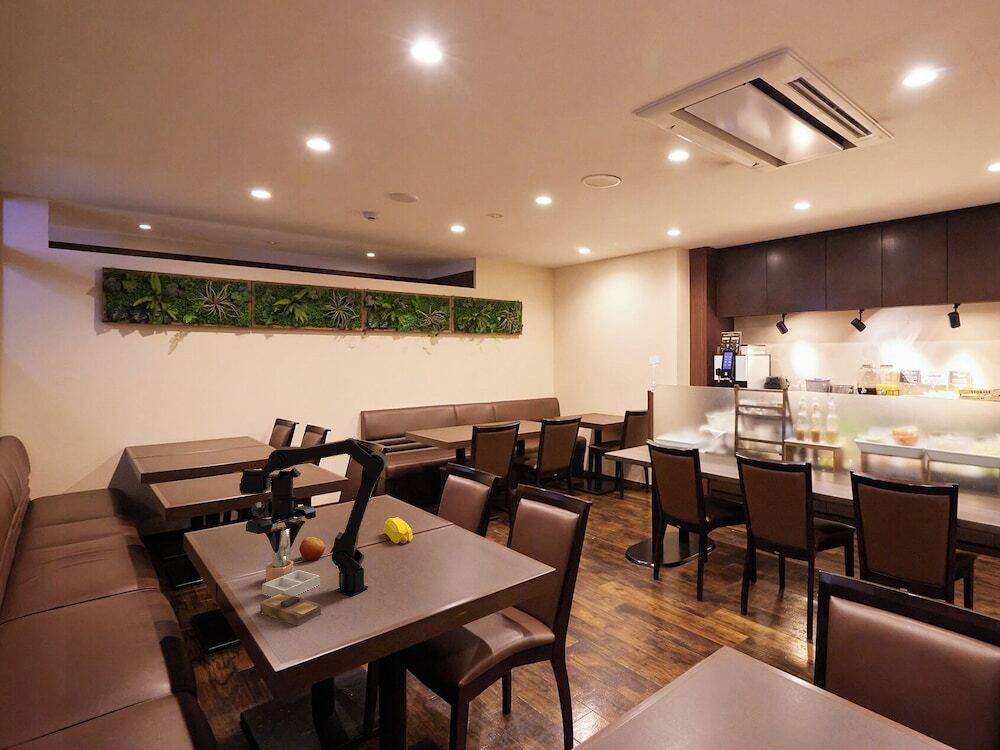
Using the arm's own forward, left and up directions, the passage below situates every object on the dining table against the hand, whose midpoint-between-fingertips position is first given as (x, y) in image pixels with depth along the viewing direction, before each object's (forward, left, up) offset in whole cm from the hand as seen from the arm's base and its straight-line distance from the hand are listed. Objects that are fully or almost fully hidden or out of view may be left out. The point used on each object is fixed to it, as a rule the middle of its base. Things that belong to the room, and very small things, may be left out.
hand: (282, 550), depth 146 cm
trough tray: (0, -3, -12) cm, 12 cm away
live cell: (0, 0, -1) cm, 1 cm away
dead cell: (+9, -6, -11) cm, 16 cm away
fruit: (+15, -23, -12) cm, 30 cm away
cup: (+9, -6, -12) cm, 16 cm away
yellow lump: (+5, -53, -12) cm, 55 cm away
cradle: (-12, +7, -12) cm, 18 cm away
